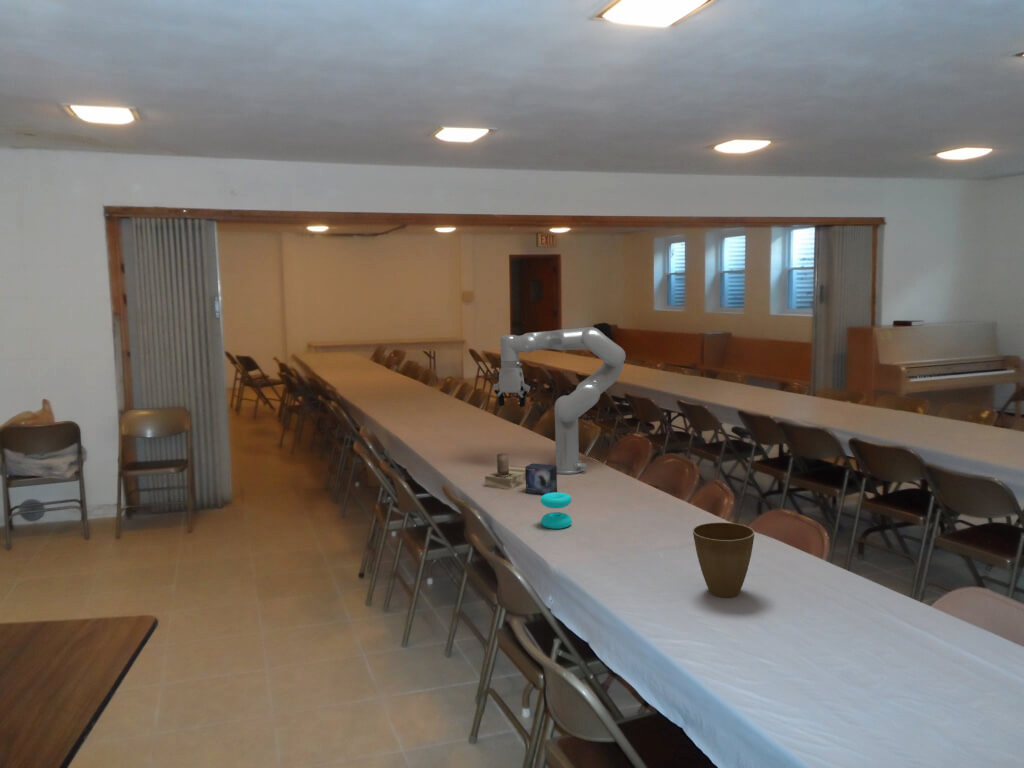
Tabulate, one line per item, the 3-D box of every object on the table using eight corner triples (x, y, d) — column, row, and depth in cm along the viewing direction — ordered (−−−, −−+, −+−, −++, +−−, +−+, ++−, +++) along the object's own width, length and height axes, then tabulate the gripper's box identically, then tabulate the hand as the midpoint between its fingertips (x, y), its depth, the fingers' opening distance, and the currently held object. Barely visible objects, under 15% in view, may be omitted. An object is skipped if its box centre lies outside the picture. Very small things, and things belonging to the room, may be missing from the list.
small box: (525, 493, 302) (524, 466, 301) (532, 489, 308) (531, 462, 306) (550, 496, 297) (549, 468, 296) (557, 492, 303) (557, 465, 301)
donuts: (565, 490, 267) (575, 497, 257) (565, 519, 268) (576, 527, 259) (536, 493, 264) (545, 500, 255) (537, 522, 265) (546, 531, 256)
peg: (511, 484, 316) (510, 454, 314) (505, 486, 312) (504, 456, 310) (501, 482, 318) (500, 453, 316) (495, 485, 314) (494, 455, 313)
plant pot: (742, 579, 210) (743, 520, 208) (762, 602, 196) (763, 538, 193) (686, 582, 210) (686, 522, 208) (701, 604, 195) (701, 541, 193)
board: (511, 475, 331) (511, 465, 331) (535, 477, 325) (534, 468, 325) (485, 486, 314) (485, 476, 314) (509, 489, 308) (509, 479, 308)
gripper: (533, 364, 330) (534, 405, 332) (496, 363, 338) (498, 404, 340) (524, 366, 323) (526, 408, 325) (487, 365, 332) (489, 406, 334)
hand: (512, 406), depth 333 cm, fingers open, 9 cm apart
